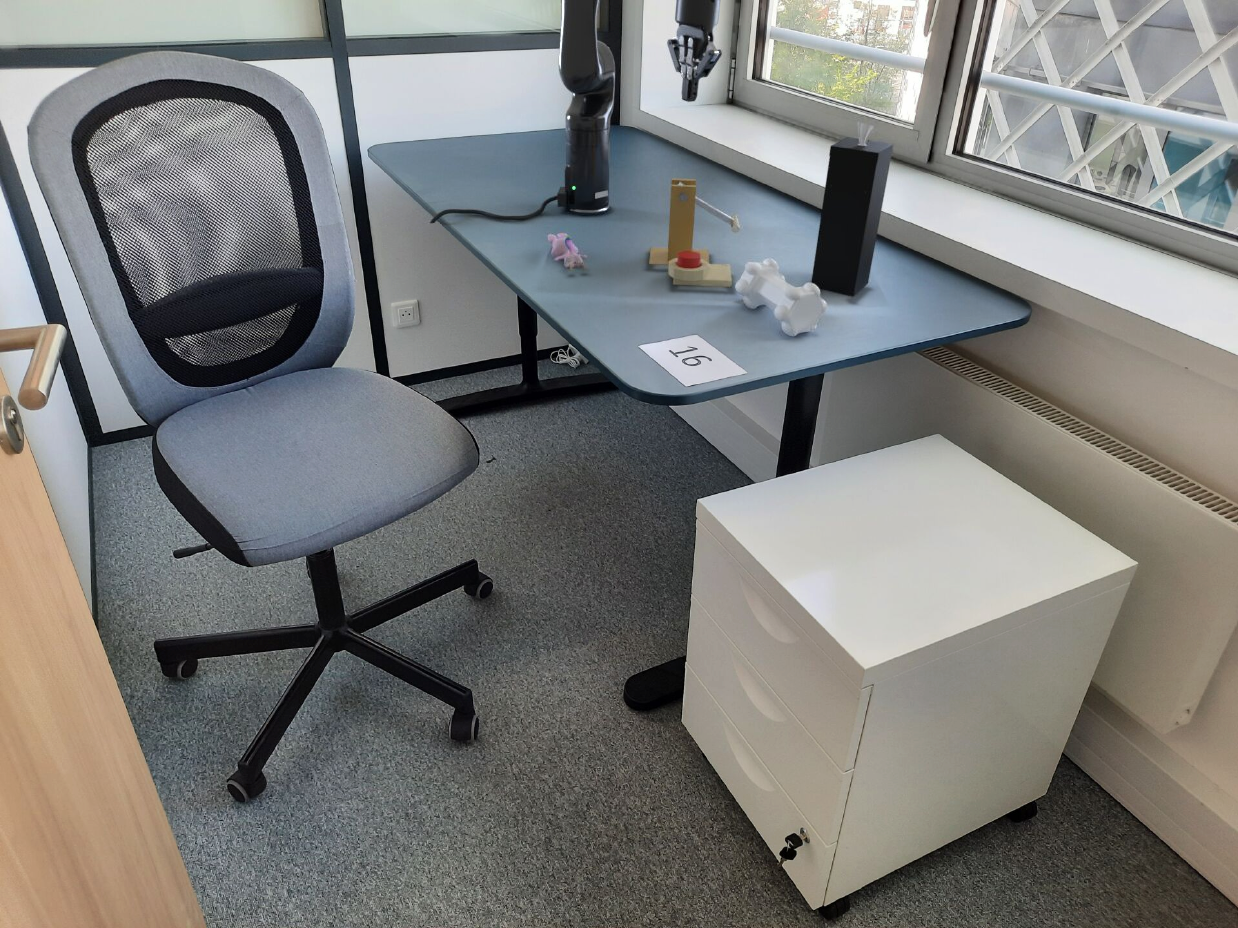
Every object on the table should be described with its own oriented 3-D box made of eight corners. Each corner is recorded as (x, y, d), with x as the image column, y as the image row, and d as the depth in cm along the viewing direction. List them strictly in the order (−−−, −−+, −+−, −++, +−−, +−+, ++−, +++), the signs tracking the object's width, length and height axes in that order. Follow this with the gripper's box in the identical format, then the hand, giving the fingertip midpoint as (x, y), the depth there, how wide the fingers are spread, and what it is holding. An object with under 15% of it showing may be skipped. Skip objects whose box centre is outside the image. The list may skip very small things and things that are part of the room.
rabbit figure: (594, 280, 160) (569, 241, 170) (596, 250, 156) (570, 212, 166) (561, 283, 158) (538, 244, 168) (562, 253, 154) (538, 215, 164)
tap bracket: (707, 255, 168) (713, 177, 160) (709, 272, 160) (715, 190, 152) (650, 253, 168) (653, 175, 160) (648, 270, 161) (652, 188, 153)
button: (677, 269, 151) (677, 258, 150) (677, 261, 154) (677, 250, 153) (700, 270, 151) (701, 259, 150) (699, 262, 154) (700, 251, 153)
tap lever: (733, 226, 163) (740, 215, 162) (735, 236, 158) (742, 225, 157) (673, 190, 160) (680, 178, 159) (672, 199, 155) (679, 187, 154)
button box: (667, 292, 152) (668, 270, 150) (668, 273, 159) (669, 252, 157) (730, 294, 151) (733, 272, 149) (728, 276, 159) (730, 254, 157)
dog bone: (826, 333, 139) (834, 284, 134) (780, 342, 136) (786, 292, 131) (774, 299, 150) (779, 253, 146) (730, 307, 147) (734, 260, 143)
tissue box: (852, 302, 149) (882, 131, 134) (809, 292, 153) (833, 124, 138) (867, 288, 155) (898, 122, 140) (825, 279, 159) (850, 116, 143)
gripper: (658, -11, 152) (650, 95, 162) (707, -1, 144) (695, 110, 153) (691, -12, 156) (682, 92, 166) (741, -2, 147) (728, 107, 157)
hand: (688, 100), depth 160 cm, fingers closed
